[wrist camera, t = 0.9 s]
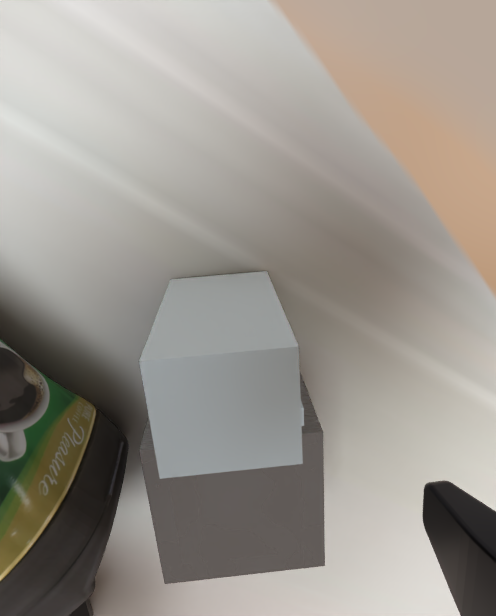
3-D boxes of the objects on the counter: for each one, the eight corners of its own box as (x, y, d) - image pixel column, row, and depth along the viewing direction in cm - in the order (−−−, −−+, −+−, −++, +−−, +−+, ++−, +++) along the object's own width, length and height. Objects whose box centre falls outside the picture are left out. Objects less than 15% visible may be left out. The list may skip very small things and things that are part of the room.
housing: (301, 475, 24) (324, 565, 19) (176, 488, 24) (164, 583, 18) (297, 364, 22) (322, 432, 16) (158, 377, 21) (139, 450, 16)
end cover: (289, 463, 23) (324, 616, 15) (186, 473, 23) (170, 634, 15) (279, 269, 19) (320, 344, 12) (157, 280, 19) (117, 363, 12)
